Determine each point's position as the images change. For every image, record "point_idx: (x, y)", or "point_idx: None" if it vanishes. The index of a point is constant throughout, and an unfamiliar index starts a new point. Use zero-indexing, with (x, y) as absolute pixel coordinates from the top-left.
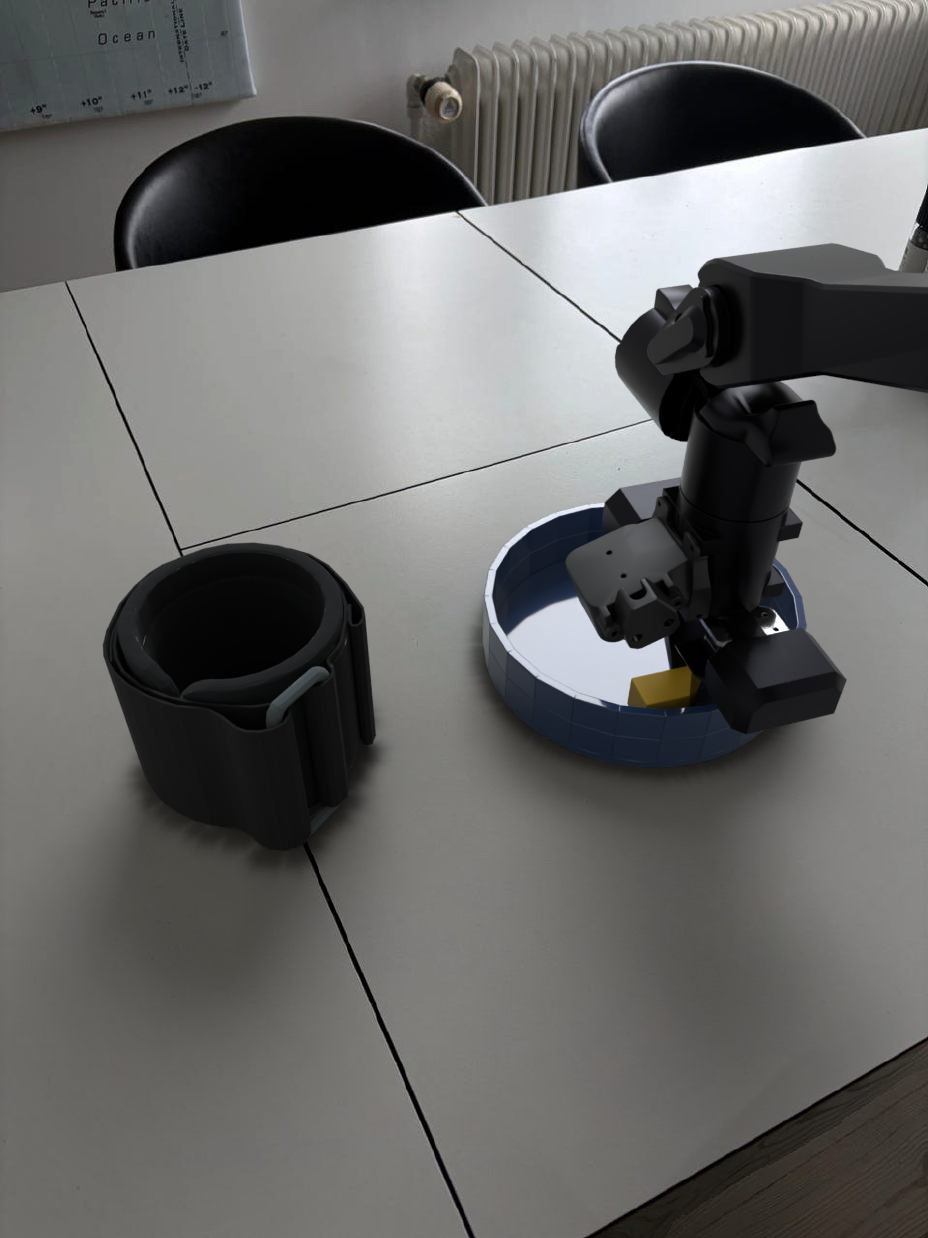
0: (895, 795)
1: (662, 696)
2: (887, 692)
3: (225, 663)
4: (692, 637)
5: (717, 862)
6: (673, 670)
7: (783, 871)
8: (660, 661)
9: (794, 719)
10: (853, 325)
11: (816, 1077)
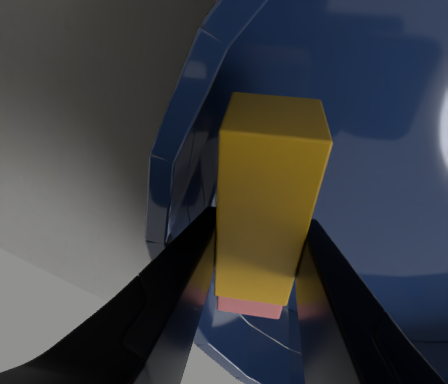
0: (106, 288)
1: (232, 179)
2: None
3: None
4: (314, 344)
5: (9, 82)
6: (301, 237)
7: (4, 154)
8: (403, 208)
9: None
10: None
11: None
